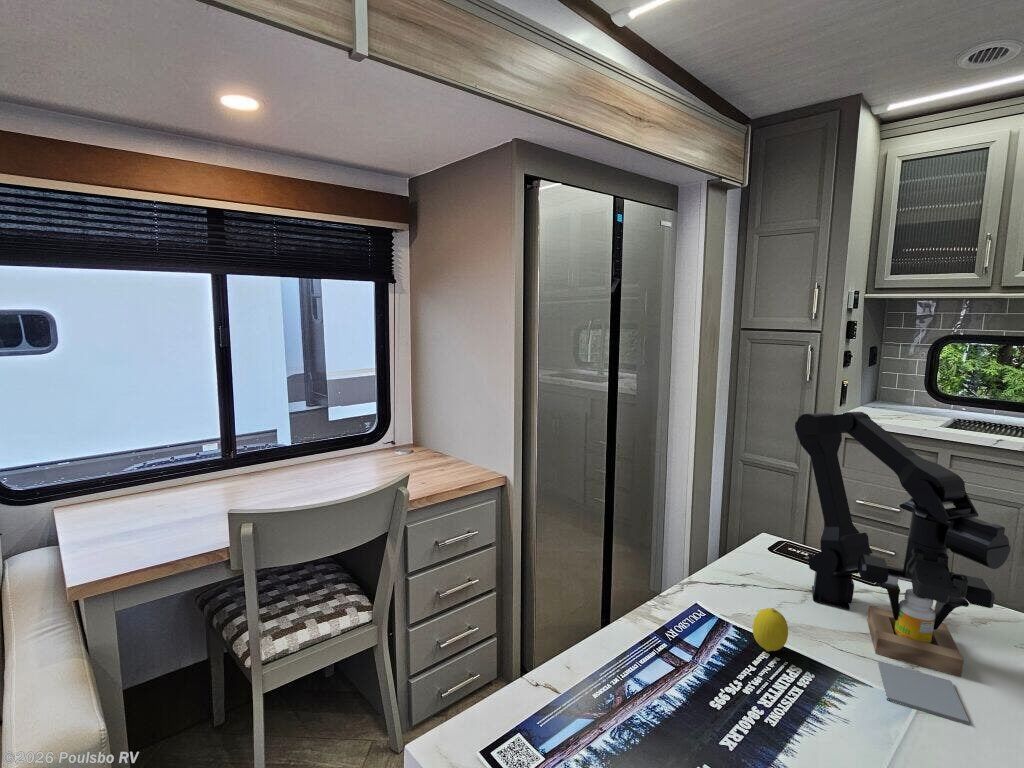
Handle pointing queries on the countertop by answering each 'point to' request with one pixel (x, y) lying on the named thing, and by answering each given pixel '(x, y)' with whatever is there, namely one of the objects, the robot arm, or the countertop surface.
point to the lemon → (770, 629)
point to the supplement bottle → (915, 618)
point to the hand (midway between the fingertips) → (914, 623)
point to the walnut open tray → (914, 644)
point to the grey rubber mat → (922, 692)
